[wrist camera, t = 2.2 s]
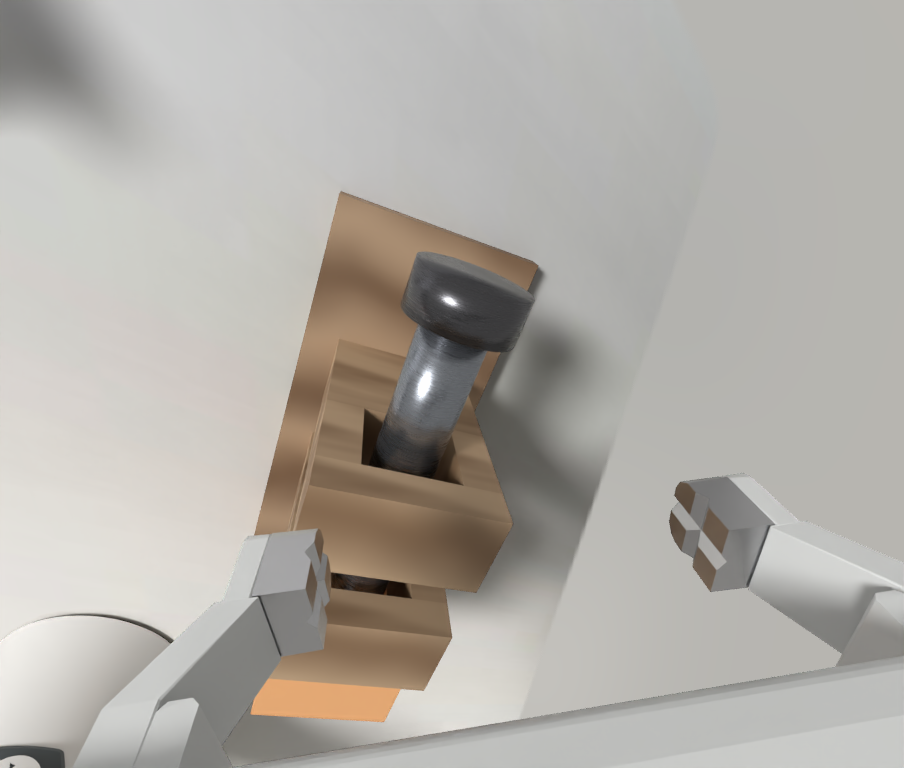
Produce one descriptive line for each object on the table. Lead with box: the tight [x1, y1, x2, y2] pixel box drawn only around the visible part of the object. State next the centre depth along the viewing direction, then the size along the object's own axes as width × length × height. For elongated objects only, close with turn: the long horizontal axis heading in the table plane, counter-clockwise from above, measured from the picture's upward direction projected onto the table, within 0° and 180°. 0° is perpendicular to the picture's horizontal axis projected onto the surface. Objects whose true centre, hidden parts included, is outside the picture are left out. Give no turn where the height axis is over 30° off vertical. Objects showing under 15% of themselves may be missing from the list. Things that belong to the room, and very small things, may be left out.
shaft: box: [331, 252, 535, 595], centre depth 23 cm, size 26×5×5 cm, turn 160°
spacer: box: [251, 588, 400, 722], centre depth 27 cm, size 4×7×7 cm, turn 70°
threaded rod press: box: [254, 191, 538, 691], centre depth 26 cm, size 26×12×15 cm, turn 160°
